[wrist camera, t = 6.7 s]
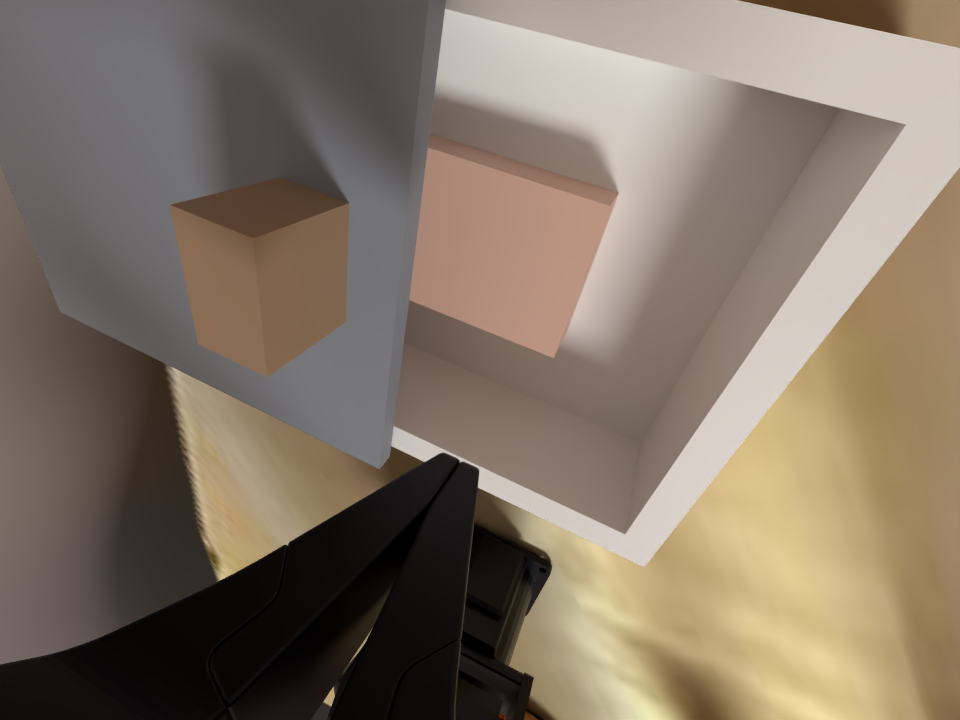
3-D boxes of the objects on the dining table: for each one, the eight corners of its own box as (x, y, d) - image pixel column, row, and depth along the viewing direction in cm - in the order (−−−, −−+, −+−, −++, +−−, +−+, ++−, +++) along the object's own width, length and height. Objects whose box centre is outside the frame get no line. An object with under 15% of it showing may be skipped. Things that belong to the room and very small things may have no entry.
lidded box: (656, 459, 22) (644, 567, 17) (336, 322, 25) (253, 379, 21) (909, 68, 12) (1039, 65, 8) (342, -61, 16) (191, -118, 11)
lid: (389, 456, 19) (323, 538, 16) (77, 305, 23) (-31, 345, 19) (456, -89, 9) (318, -182, 6) (-113, -204, 13) (-401, -302, 10)
